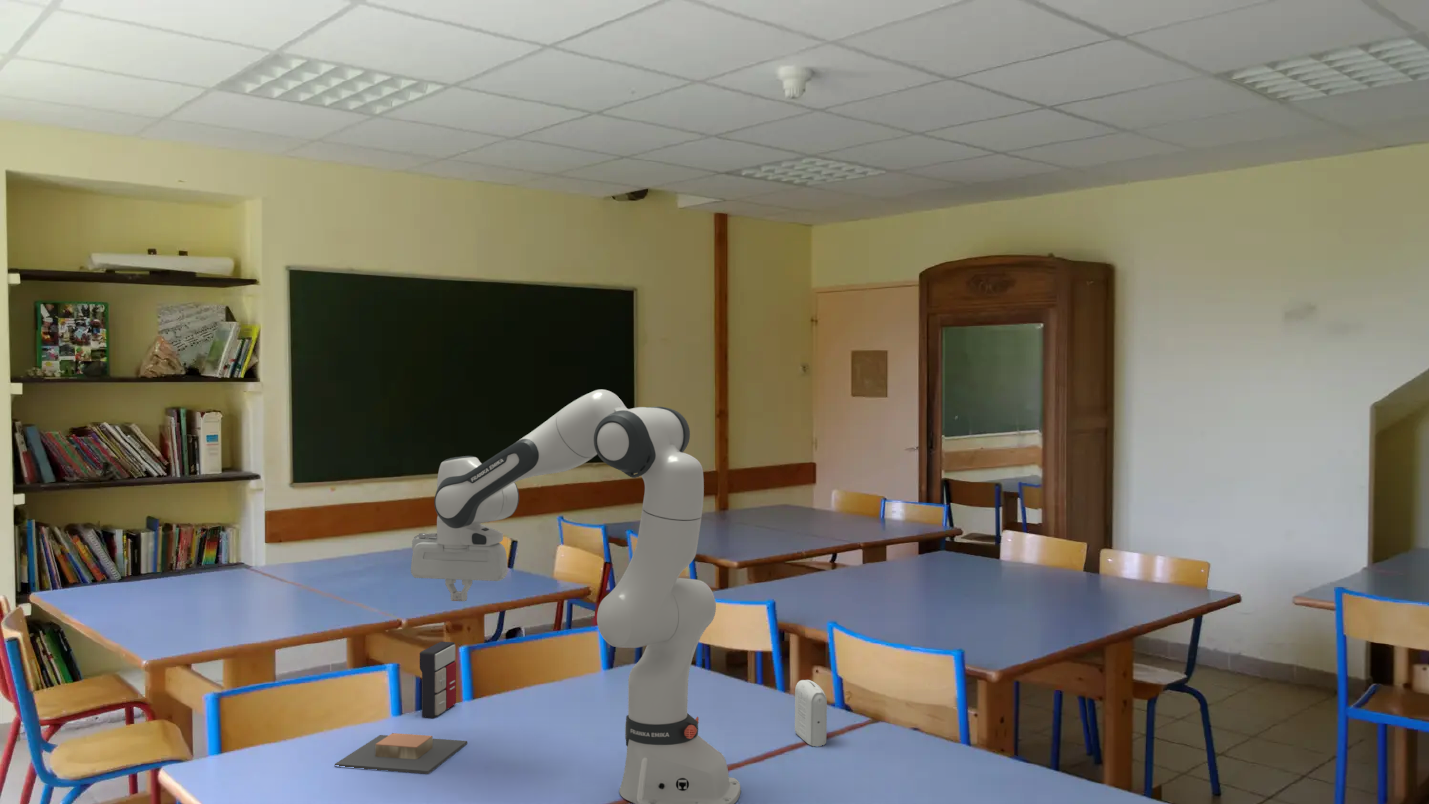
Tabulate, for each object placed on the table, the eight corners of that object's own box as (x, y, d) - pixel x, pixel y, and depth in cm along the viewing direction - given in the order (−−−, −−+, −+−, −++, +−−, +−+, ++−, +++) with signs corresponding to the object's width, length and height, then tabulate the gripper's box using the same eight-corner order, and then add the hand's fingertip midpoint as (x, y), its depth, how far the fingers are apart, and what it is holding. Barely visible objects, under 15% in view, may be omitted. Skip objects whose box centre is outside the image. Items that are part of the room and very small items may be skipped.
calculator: (436, 718, 239) (436, 653, 239) (419, 717, 240) (419, 652, 240) (458, 704, 250) (458, 641, 249) (441, 703, 250) (441, 641, 250)
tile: (432, 735, 218) (392, 733, 219) (416, 747, 211) (375, 744, 212) (432, 747, 218) (392, 744, 219) (416, 759, 211) (375, 756, 212)
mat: (467, 743, 222) (467, 740, 222) (428, 774, 204) (428, 771, 204) (380, 737, 226) (380, 734, 226) (334, 766, 208) (334, 763, 208)
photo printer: (829, 746, 221) (829, 687, 221) (810, 748, 220) (810, 689, 220) (810, 730, 231) (810, 674, 231) (792, 732, 230) (792, 676, 229)
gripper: (405, 534, 217) (405, 601, 217) (498, 537, 213) (498, 605, 213) (419, 530, 223) (419, 595, 223) (510, 533, 219) (510, 599, 219)
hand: (458, 600), depth 218 cm, fingers closed
